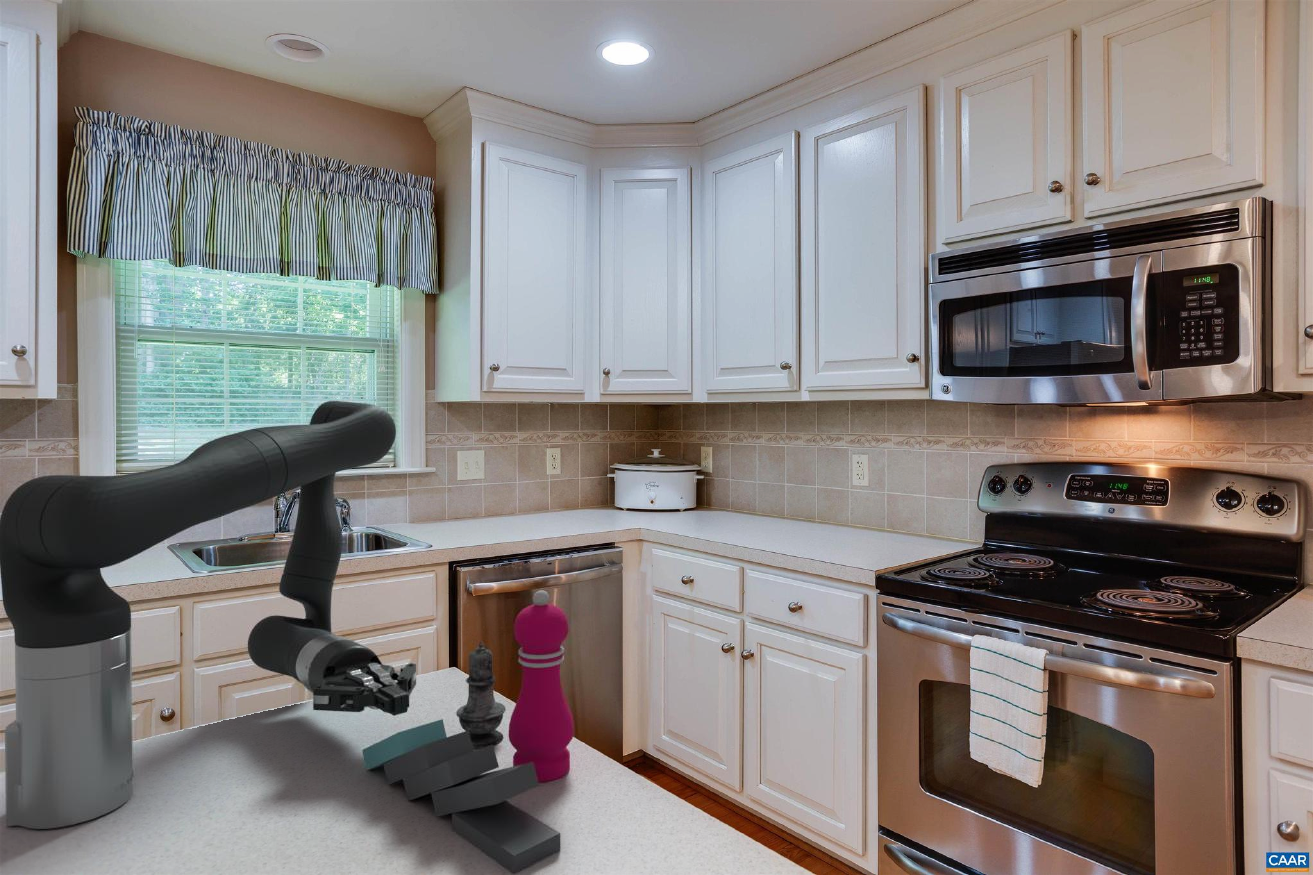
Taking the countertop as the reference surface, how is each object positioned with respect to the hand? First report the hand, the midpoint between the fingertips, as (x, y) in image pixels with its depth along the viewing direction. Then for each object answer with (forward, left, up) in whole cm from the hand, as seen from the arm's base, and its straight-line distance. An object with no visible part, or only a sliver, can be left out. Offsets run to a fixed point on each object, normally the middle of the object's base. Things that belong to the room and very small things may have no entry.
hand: (401, 704), depth 83 cm
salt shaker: (+9, +7, -8) cm, 14 cm away
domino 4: (+6, -9, -6) cm, 13 cm away
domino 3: (+3, -5, -6) cm, 9 cm away
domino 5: (+7, -12, -7) cm, 16 cm away
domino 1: (-2, +3, -6) cm, 8 cm away
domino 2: (+1, -1, -6) cm, 7 cm away
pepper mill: (+15, -3, -8) cm, 17 cm away
